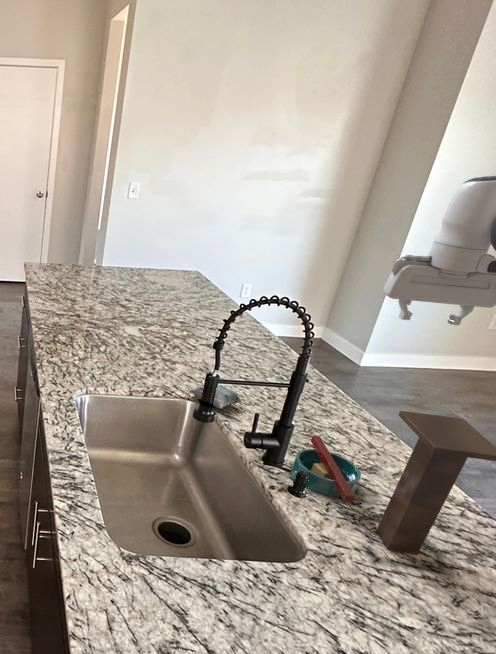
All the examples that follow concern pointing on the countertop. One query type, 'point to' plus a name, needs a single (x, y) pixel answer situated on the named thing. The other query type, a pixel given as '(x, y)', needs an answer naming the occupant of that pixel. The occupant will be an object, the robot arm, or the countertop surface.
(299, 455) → the bowl
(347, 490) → the red square bar
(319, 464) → the block
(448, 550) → the countertop surface
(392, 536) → the brown pedestal stand
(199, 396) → the packaged food
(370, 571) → the countertop surface
